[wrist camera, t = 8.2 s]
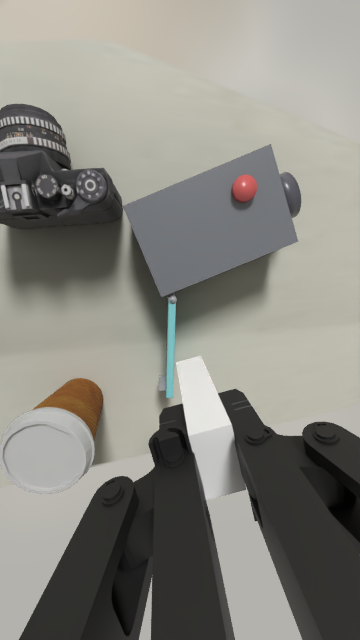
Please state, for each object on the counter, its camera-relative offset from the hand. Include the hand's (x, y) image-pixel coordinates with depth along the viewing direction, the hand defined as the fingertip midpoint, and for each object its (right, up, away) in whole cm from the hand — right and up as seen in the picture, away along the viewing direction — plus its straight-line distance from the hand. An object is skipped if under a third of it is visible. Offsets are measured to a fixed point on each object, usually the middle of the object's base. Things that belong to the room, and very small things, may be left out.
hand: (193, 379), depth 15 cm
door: (-3, +1, +20) cm, 21 cm away
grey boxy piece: (+4, +15, +18) cm, 24 cm away
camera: (-15, +20, +16) cm, 30 cm away
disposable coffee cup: (-15, -8, +22) cm, 28 cm away
